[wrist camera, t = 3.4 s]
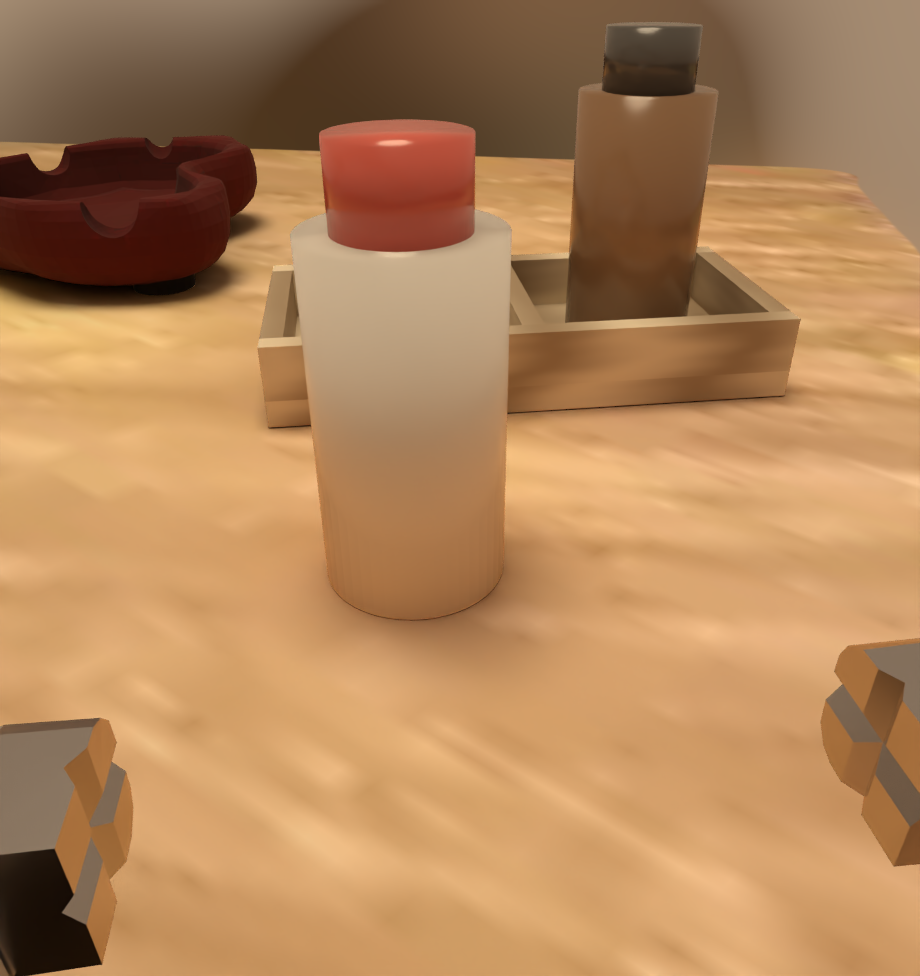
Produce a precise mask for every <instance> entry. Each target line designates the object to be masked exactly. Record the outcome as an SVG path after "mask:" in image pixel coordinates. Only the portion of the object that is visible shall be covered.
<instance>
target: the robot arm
mask: <svg viewBox="0 0 920 976" xmlns="http://www.w3.org/2000/svg"><path fill="white" fill-rule="evenodd" d="M834 672H835V673H836V675H837V676H838V678H839V679H840V681H841V682H842V685H841V686H840V687H839V688H838V689H837V690H836V691H835V692H834V693H833V694H832V695H830V696H829V697H828V698H827V699H826V701H825V705H824V709H823V713H822V717H821V730H822V739H823V746H824V748H825V751H826V754H827V756H828V759H829V762H830V764H831V766H832V767H833V769H834V771H835V772H836V774H837V776H838V777H839V779H840V781H841V782H843V783H844V784H846V785H847V786H849V787H850V788H852V789H853V790H855V791H857V792H858V793H860V794H861V795H863V796H864V799H863V806H862V813H861V815H862V817H863V818H864V820H865V821H866V823H867V825H868V826H869V828H870V829H871V831H872V833H873V834H874V836H875V837H876V839H877V841H878V842H879V844H880V845H881V847H882V849H883V850H884V852H885V853H886V855H887V857H888V858H889V860H890V861H891V863H892V865H893V866H894V867H895V866H905V865H916V864H920V638H916V639H906V640H897V641H887V642H878V643H869V644H859V645H850V646H847V647H846V649H845V650H844V651H843V652H842V653H841V654H840V655H839V658H838V661H837V664H836V667H835V671H834ZM116 743H117V742H116V739H115V736H114V734H113V731H112V728H111V725H110V723H109V720H106V719H102V718H94V719H80V720H66V721H52V722H38V723H24V724H10V725H3V726H0V976H29V975H36V974H42V973H49V972H56V971H62V970H69V969H75V968H82V967H89V966H95V965H102V963H103V959H104V955H105V951H106V946H107V942H108V938H109V934H110V929H111V925H112V921H113V917H114V913H115V908H116V904H117V899H116V897H115V894H114V891H113V888H112V885H111V882H110V878H111V877H112V876H113V875H114V874H115V873H116V872H117V871H118V870H119V869H120V868H121V867H122V866H123V865H124V864H125V863H126V861H127V856H128V851H129V847H130V842H131V837H132V821H133V802H132V794H131V787H130V784H129V780H128V777H127V773H126V771H125V770H123V769H122V768H120V767H119V766H117V765H116V764H114V763H113V762H112V758H113V754H114V751H115V747H116Z"/></svg>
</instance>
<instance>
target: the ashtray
mask: <svg viewBox="0 0 920 976" xmlns="http://www.w3.org/2000/svg"><path fill="white" fill-rule="evenodd" d="M256 185H257V174H256V166H255V162H254V158H253V155H252V153H251V151H250V149H249V148H248V147H247V146H246V145H243V144H241V143H239V142H238V141H236V140H235V139H234V138H232V137H228V136H195V137H174V138H173V140H172V142H171V144H170V145H169V146H167V147H158V146H155V145H154V144H152V143H151V142H150V141H149V140H148V139H147V138H111V139H105V140H99V141H95V142H89V143H84V144H77V145H71V146H66V147H65V149H64V153H63V156H62V160H61V162H60V164H59V166H58V167H57V168H56V169H54V170H52V171H40V170H39V169H38V168H37V167H36V166H35V165H34V163H33V162H32V160H31V158H30V157H29V155H28V154H27V153H25V154H19V155H13V156H7V157H2V158H0V269H6V270H12V271H19V272H26V273H31V274H35V275H38V276H41V277H44V278H48V279H51V280H56V281H62V282H68V283H76V284H87V285H97V286H122V285H133V288H134V290H135V291H136V292H137V293H140V294H145V295H169V294H174V293H179V292H182V291H186V290H188V289H190V288H192V287H193V286H194V285H195V283H196V281H195V275H194V274H195V273H198V272H200V271H202V270H204V269H206V268H208V267H210V266H211V265H212V264H214V263H215V262H216V261H217V260H218V259H219V258H220V256H221V255H222V254H223V253H224V251H225V249H226V245H227V242H228V238H229V235H230V217H232V216H235V215H236V214H237V213H239V212H240V211H242V210H243V209H244V208H245V207H246V206H247V204H248V203H249V202H250V201H251V199H252V198H253V197H254V193H255V189H256Z"/></svg>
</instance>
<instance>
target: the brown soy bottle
mask: <svg viewBox="0 0 920 976" xmlns="http://www.w3.org/2000/svg"><path fill="white" fill-rule="evenodd" d="M702 29H703V25H699V24H691V23H671V22H670V23H669V22H634V23H615V24H608V25H607V26H606V38H605V53H604V66H603V79H602V83H599V84H592V85H587V86H583V87H581V88H579V98H578V114H577V130H576V147H575V163H574V179H573V196H572V213H571V229H570V246H569V262H568V279H567V296H566V312H565V323H570V322H589V321H609V320H628V319H647V318H666V317H685V316H687V315H688V308H689V301H690V294H691V287H692V279H693V272H694V265H695V258H696V251H697V243H698V236H699V229H700V222H701V215H702V207H703V200H704V193H705V186H706V179H707V171H708V164H709V157H710V149H711V143H712V135H713V127H714V121H715V114H716V106H717V99H718V90H716V89H714V88H711V87H706V86H701V85H696V76H697V68H698V61H699V52H700V44H701V37H702Z"/></svg>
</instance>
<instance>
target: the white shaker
mask: <svg viewBox="0 0 920 976" xmlns="http://www.w3.org/2000/svg"><path fill="white" fill-rule="evenodd" d="M319 142H320V153H321V165H322V176H323V187H324V199H325V210H326V213H324V214H321V215H318V216H315V217H312V218H310V219H307V220H305V221H304V222H302V223H300V224H298V225H297V226H296V227H295V228H294V229H293V230H292V231H291V234H290V240H291V249H292V258H293V267H294V276H295V285H296V294H297V303H298V312H299V321H300V330H301V339H302V348H303V357H304V366H305V375H306V384H307V393H308V402H309V411H310V420H311V429H312V438H313V447H314V456H315V465H316V474H317V483H318V492H319V501H320V509H321V518H322V527H323V536H324V545H325V554H326V563H327V572H328V578H329V581H330V584H331V585H332V587H333V589H334V590H335V592H336V593H337V594H338V595H339V596H340V597H341V598H342V599H343V600H345V601H346V602H347V603H349V604H350V605H352V606H354V607H355V608H357V609H360V610H362V611H364V612H367V613H370V614H373V615H376V616H380V617H385V618H391V619H400V620H421V619H430V618H437V617H442V616H446V615H450V614H453V613H456V612H459V611H461V610H464V609H466V608H468V607H470V606H472V605H474V604H476V603H477V602H479V601H480V600H482V599H483V598H484V597H486V596H487V595H488V594H489V593H490V592H491V591H492V590H493V589H494V587H495V586H496V585H497V583H498V582H499V580H500V578H501V575H502V572H503V563H504V523H505V482H506V442H507V401H508V360H509V319H510V278H511V238H512V229H511V227H510V225H509V224H508V223H507V222H506V221H504V220H503V219H501V218H499V217H497V216H495V215H492V214H490V213H487V212H483V211H480V210H475V130H474V129H472V128H470V127H468V126H465V125H461V124H457V123H451V122H442V121H431V120H379V121H365V122H356V123H349V124H344V125H338V126H334V127H330V128H327V129H325V130H323V131H321V132H320V133H319Z"/></svg>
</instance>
